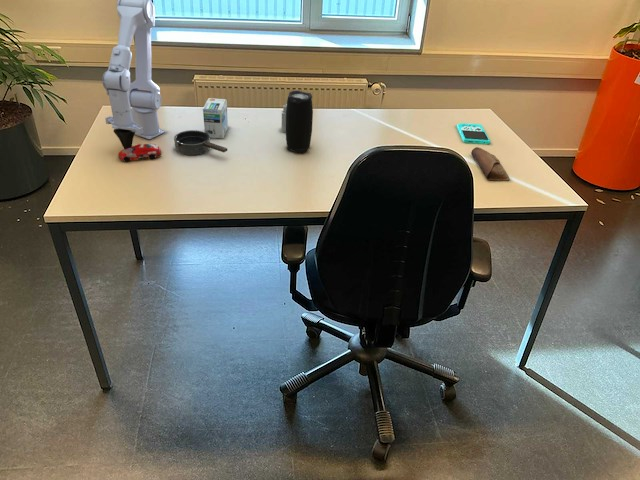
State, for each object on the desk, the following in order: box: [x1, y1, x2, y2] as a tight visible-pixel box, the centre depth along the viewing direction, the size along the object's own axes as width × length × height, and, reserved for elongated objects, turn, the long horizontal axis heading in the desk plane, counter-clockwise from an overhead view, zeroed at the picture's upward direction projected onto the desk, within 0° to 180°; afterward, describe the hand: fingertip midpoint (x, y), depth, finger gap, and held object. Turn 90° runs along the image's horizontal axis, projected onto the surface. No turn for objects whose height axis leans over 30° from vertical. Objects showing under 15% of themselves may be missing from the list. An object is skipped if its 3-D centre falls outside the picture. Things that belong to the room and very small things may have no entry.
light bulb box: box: [202, 97, 229, 139], centre depth 186 cm, size 11×7×11 cm, turn 179°
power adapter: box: [280, 101, 287, 133], centre depth 190 cm, size 3×5×12 cm, turn 92°
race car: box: [117, 143, 162, 163], centre depth 169 cm, size 13×5×4 cm, turn 109°
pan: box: [173, 129, 211, 156], centre depth 176 cm, size 12×12×4 cm
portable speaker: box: [284, 90, 314, 155], centre depth 176 cm, size 9×9×20 cm
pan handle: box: [204, 141, 228, 153], centre depth 172 cm, size 8×2×1 cm, turn 60°
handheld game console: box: [456, 122, 491, 145], centre depth 200 cm, size 10×16×1 cm, turn 178°
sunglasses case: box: [470, 146, 510, 182], centre depth 177 cm, size 18×7×7 cm
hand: (128, 149), depth 171 cm, fingers closed
